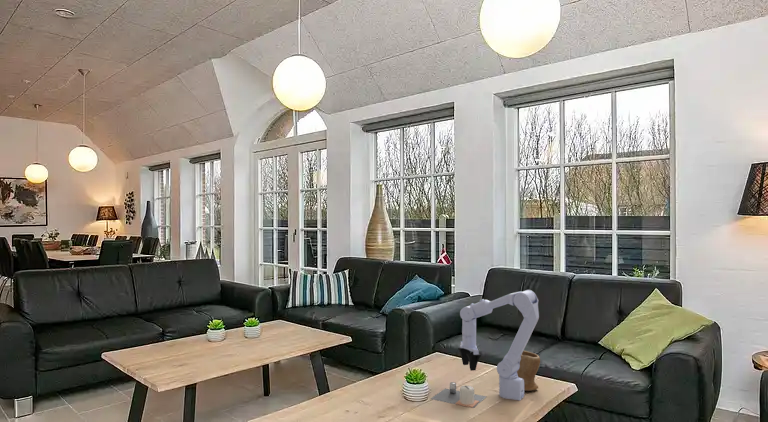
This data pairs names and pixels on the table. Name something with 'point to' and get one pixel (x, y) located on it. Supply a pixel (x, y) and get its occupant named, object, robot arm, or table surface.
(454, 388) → the metal post
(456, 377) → the table surface
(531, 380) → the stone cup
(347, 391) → the table surface
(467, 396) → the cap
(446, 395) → the base board
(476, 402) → the terracotta pad
